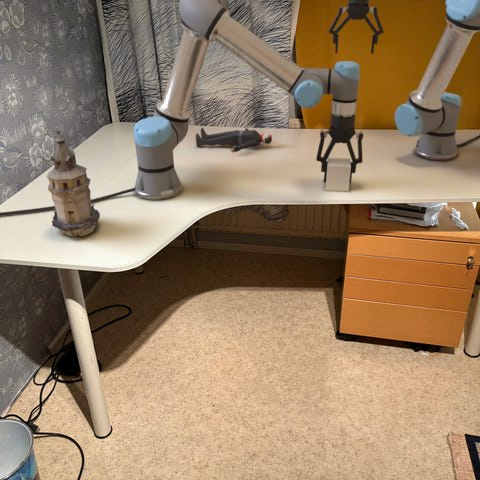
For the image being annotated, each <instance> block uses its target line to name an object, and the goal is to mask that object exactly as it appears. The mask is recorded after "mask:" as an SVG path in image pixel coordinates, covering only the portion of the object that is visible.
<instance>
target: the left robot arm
mask: <svg viewBox="0 0 480 480" xmlns="http://www.w3.org/2000/svg"><path fill="white" fill-rule="evenodd" d="M229 8H230V1H229V0H179V1H178V11H179V15H180V17H181V21H180V25H181V27H182V29H183V32H182V35H181V39H180V42H179V45H178V48H177V52H176V55H175V58H174V62H173V66H172V68H171V72H170V75H169V78H168V82H167V85H166V89H165V92H164V96H163V99H162V100H160V101H158V102H157V103H156V105H155V109H154V112H153V116H148V117H146V118H142V119H139V120H138V121H137V122H136V123H135V125H134V127H133V139H134V144H135V154H136V161H137V175H136V179H135V184H134V187H132V188H129V189H125V190H121V191H117V192H114V193H111V194H108V195H107V194H106V195H104V196H101V197H96V198H92V199H91V204H92V203H95V202H100V201H103V200H107V199H110V198H115V197H118V196H121V195H124V194H128V193H132V192H134V193H135V195H136V196H137V197H138V198H141V199H143V200H148V201H161V200H168V199H171V198H174V197H176V196H178V195H179V194H180V193H181V192H182V182H181V180H180V177H179V176H178V173H177V171H176V169H175V161H174V160H175V159H174V158H175V157H174V150H175V149H176V148H177V146H178V145H179V144H180V143H181V142H182V141H184V139H185V138H186V137H187V135H188V131H189V121H190V118H191V112H190V111H189V106H190V103H191V100H192V98H193V94H194V92H195V88H196V85H197V82H198V79H199V76H200V72H201V70H202V67H203V64H204V61H205V57H206V56H207V55H206V54H207V51H208V49H209V45H210V42H216V43H217V44H219V45H220V46H222V47H223V48H224V49H226V50H227V51H229V52H230V53H232V55H235V56H236V57H237V58H239V59H240V60H242V61H243V62H245V63H246V64H247V65H249V66H250V67H251V68H253V70H254V69H255V71H257V72H259V74H261V75H263V76H264V77H265V78H267V79H268V80H269V81H271V82H272V83H274V84H276V85H277V86H278V87H280V89H283V90H284V91H285V92H287V93H288V94H289V95H291V96H292V97H293V98H295V99H294V100H295V101H296V103H297V104H298V105H299V106H300V107H302V108H304V109H312V108H314V107H316V106H317V105H318V104H319V103H320V102H321V100H322V98H323V95H332V97H331V98H332V99H331V111H330V112H331V114H330V123H329V124H330V126H329V127H328V129H325V130H323V129H321V130H320V131H319V135H320V141H319V144H318V149H317V154H316V162H320V163H321V167H320V169H321V170H320V172H321V173H323V183H326V178H327V165H328V161H327V159H328V157H330V156H331V155H330V154H331V153H332V151H333V149H334V147H335V145H336V144H346V148H347V150H348V153H349V156H350V160H351V161H350V162H351V171H350V181H349V185H350V184H352V177H353V174H356V172H357V171H356V170H357V165H358V164H362V163H363V138H364V132H363V131H362V130H361V131H357V130H356V129H355V124H356V115H355V114H356V113H357V105H358V104H357V103H358V94H359V84H360V71H361V67H360V64H359V63H358V62H355V61H349V60H344V61H337V62H335V63H334V67H333V68H317V67H315V68H314V67H300V66H299V65H298V64H296V63H295V62H294V61H292V60H291V59H289V58H288V57H287V56H285V55H284V54H282V53H281V52H280V51H278V50H277V49H276V48H274V47H273V46H272V45H270V44H268V43H267V42H266V41H264V40H263V39H262V38H260V37H259V36H257V35H256V34H254V32H252V31H250V29H247V28H246V27H245V26H244V25H243V24H240V22H238V21H237V20H235V19H234V18H232V17H231V16H230V11H229ZM328 135H329V136H330V138H331V139H330V142H329V144H328V146H327V148H326V150H325V152H324V154H323V149H324V145H325V140H326V139H325V138H327V137H328ZM354 136H355V139H357V158H356V154H355V151H354V148H353V145H352V142H351V139H352V138H354ZM322 154H323V156H322ZM51 210H56V209H55V205H52V206H45V207H36V208H27V209H21V210H12V211H1V212H0V216H8V215H9V216H10V215H19V214H27V213H28V214H29V213H35V212H44V211H51Z"/></svg>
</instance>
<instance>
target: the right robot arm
mask: <svg viewBox="0 0 480 480" xmlns="http://www.w3.org/2000/svg"><path fill="white" fill-rule="evenodd" d="M369 4H370V0H347V6H345V7H344V6H339V7H338V12H337V14H336V16H335V18H334V20H333V22H332V23H331V26H330V27H329V29H328V33H329V34H332V44H333V45H335V47H334V49H335V50H334V54H338V49H339V48H338V47H339V46H338V45H339V35H340V34H339V32H340V31H341V30H342V29H343V27H344V26H345V25H346V24H347V23H348V22H349V21H351V20H352V21H356V20H358V21H362V20H364V21H365V22H366V23H367V25H368V26H369V28H370V29H371V31H372V32H373V33H374V34H372V38H371V47H370V54H372V55H373V54H374V51H375V45H377V44H378V41H379V36H380V35H382V34H384V32H385V31H384V29H383V28H384V27H383V26H382V23H381V21H380V18H379V14H378V8H377V6H376V5H375V6H371V7H370V6H369ZM444 5H445V6H446V8H445V11H446V14H445V21H446V26H445V28H444V30H443V32H442V35H441V37H440V39H439V41H438V43H437V46H436V48H435V50H434V52H433V54H432V57H431V59H430V61H429V63H428V65H427V68H426V69H425V72H424V74H423V76H422V78H421V80H420V82H419V84H418V86H417V88H416V90H413V91H411V92H410V94H409V96H408V98H407V100H406V102H405V103H403V104H401V105H399V106H398V107H397V108H396V110H395V113H394V123H395V126H396V128H397V131H399V132H400V133H401V134H402V135H404V136H406V137H411V138H412V137H418V136H420V137H419V139H418V140H417V141H416V143H415V144H416V145H415V146H414V151H413V152H414V154H415V155H416V156H417V157H419V158H422V159H426V160H428V161H429V160H430V161H441V162H442V161H450V160H453V159H456V158H457V156H458V155H457V153H458V148H459V147H464V146H465V145H467V144H468V143H470V142H473V141H474V140H476V139H478V138H480V134H478V135H479V136H477V135H476V136H477V137H475V136H474V137H475V138H473V137H472V138H473V139H471V138H470V139H471V140H470V139H468V140H469V141H468V140H466V141H467V142H466V141H464V142H461V143H459V144H457V141H456V132H457V126H458V121H459V118H460V117H459V116H460V111H461V108H462V97H461V96H460V95H458V94H455V93H451V92H448V91H447V92H446V89H447V88H448V86H449V84H450V82H451V80H452V78H453V76H454V74H455V72H456V70H457V68H458V66H459V64H460V62H461V60H462V58H463V56H464V54H465V52H466V50H467V48H468V46H469V44H470V42H471V41H472V38H473V36H474V34H475V33H478V32H480V0H445V4H444ZM345 12H346V13H347V16H346V17H345V18H344V19H343V20H342V22H340V23H339V25H338V26H337V27H336V25H337V24H338V22H339V21H340V18H341V16H342V14H344V13H345ZM369 12H370V13H371V14H372V15H373V17H374V19H375V22H376V25H377V28H378V29H376V27H375V25H374V24H373V23H372V21H371V20H370V19H369V17H368V13H369Z"/></svg>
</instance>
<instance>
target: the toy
mask: <svg viewBox="0 0 480 480" xmlns="http://www.w3.org/2000/svg"><path fill="white" fill-rule="evenodd" d="M272 141H273V138H272V135H271V134H270V133H262V134H261V133H259V132H258V131H257V130H256V129H251V130H250V129H248V128H247V127H243V130H237V129H235V130H231V131H230V130H229V131H222V132H218V133H212V134H207V132H206V131H205V129H204V127H201V128H200V134H199V133H198V132H197V133H195V144H196V147H197V148H200V147H203V146H211V147H212V146H221V147H223V146H231V148H230V149H229V151H230V152H231V153H233V154H234V153H238V152H240V151H241V150H244V149H248V148H250V149H256V148H259V147H260V145H261V144H262V143H263V144H265V145H266V144H267V145H269V144H271V143H272Z"/></svg>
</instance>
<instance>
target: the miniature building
mask: <svg viewBox="0 0 480 480" xmlns="http://www.w3.org/2000/svg"><path fill="white" fill-rule="evenodd" d="M56 134H57V136H56V138H55V140H54V141H55V142H56V147H55V154H54V156H52V157H51V161H52V162H53V165H54V167H53V168H51V169H50V170H49V171H48V173H47V174H46V178H47V179H48V182H49V184H48V186H47V190H48V191H49V193H50V194H51V200H52V201H53V206H55V209H54V210H55V211H53V217H52V220H51V223H52V225H51V227H54V228H56V229H58V230H59V231H60V234H63V235H64V234H65V235H66V236H69V237H77V236H80V237H83V236H87V235H88V234H90V233H93V232H94V231H95V229H96V226H97V225H98V223H99V220H100V216H101V213H100V212H99V210H98V209H96V208H95V204H92V203H91V198H92V197H91V192H92V191H91V188H90V184H91V178H89V177H88V174H87V167H85V166H84V165H83V166H82V165H80V164H77V160H76V154H75V151H74V150H70V149H69V147H68V145H67V143H66V138H65V137H64V136H63V135H61V130H60V129H56Z"/></svg>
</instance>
